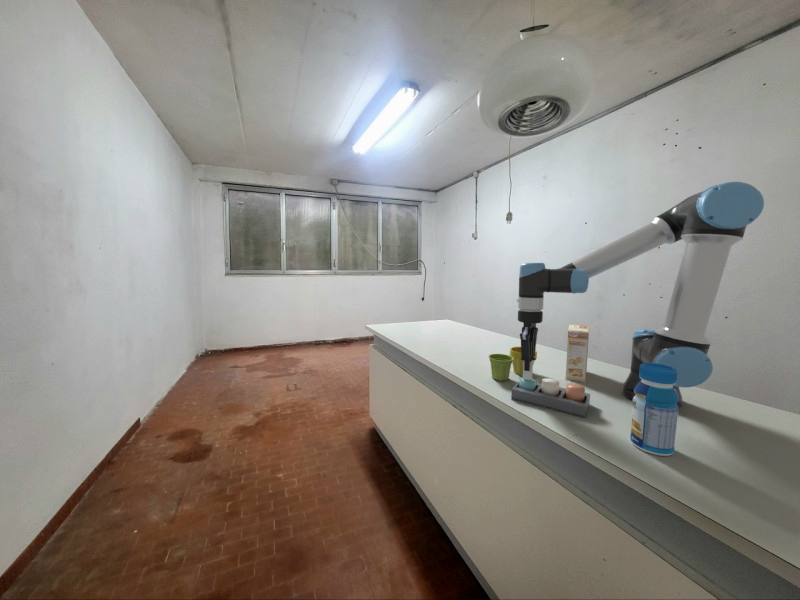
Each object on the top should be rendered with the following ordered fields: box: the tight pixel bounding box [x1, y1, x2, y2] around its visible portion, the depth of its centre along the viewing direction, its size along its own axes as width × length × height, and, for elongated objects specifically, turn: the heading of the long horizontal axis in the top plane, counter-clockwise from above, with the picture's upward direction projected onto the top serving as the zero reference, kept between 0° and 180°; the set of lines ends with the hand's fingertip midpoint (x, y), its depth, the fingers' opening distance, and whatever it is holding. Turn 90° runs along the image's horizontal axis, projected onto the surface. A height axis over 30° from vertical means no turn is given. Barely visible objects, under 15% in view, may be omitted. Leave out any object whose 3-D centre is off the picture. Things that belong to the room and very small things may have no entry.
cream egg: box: [541, 378, 560, 397], centre depth 97 cm, size 5×5×4 cm
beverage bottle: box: [629, 363, 680, 457], centre depth 71 cm, size 8×8×20 cm
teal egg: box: [519, 376, 537, 391], centre depth 101 cm, size 5×5×4 cm
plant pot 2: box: [509, 346, 538, 376], centre depth 124 cm, size 10×10×10 cm
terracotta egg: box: [565, 382, 586, 403], centre depth 92 cm, size 5×5×4 cm
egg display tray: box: [510, 380, 591, 419], centre depth 97 cm, size 21×11×4 cm, turn 52°
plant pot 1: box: [488, 353, 514, 382], centre depth 118 cm, size 9×9×9 cm
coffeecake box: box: [564, 323, 590, 383], centre depth 120 cm, size 15×7×20 cm, turn 148°
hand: (527, 379), depth 101 cm, fingers closed
